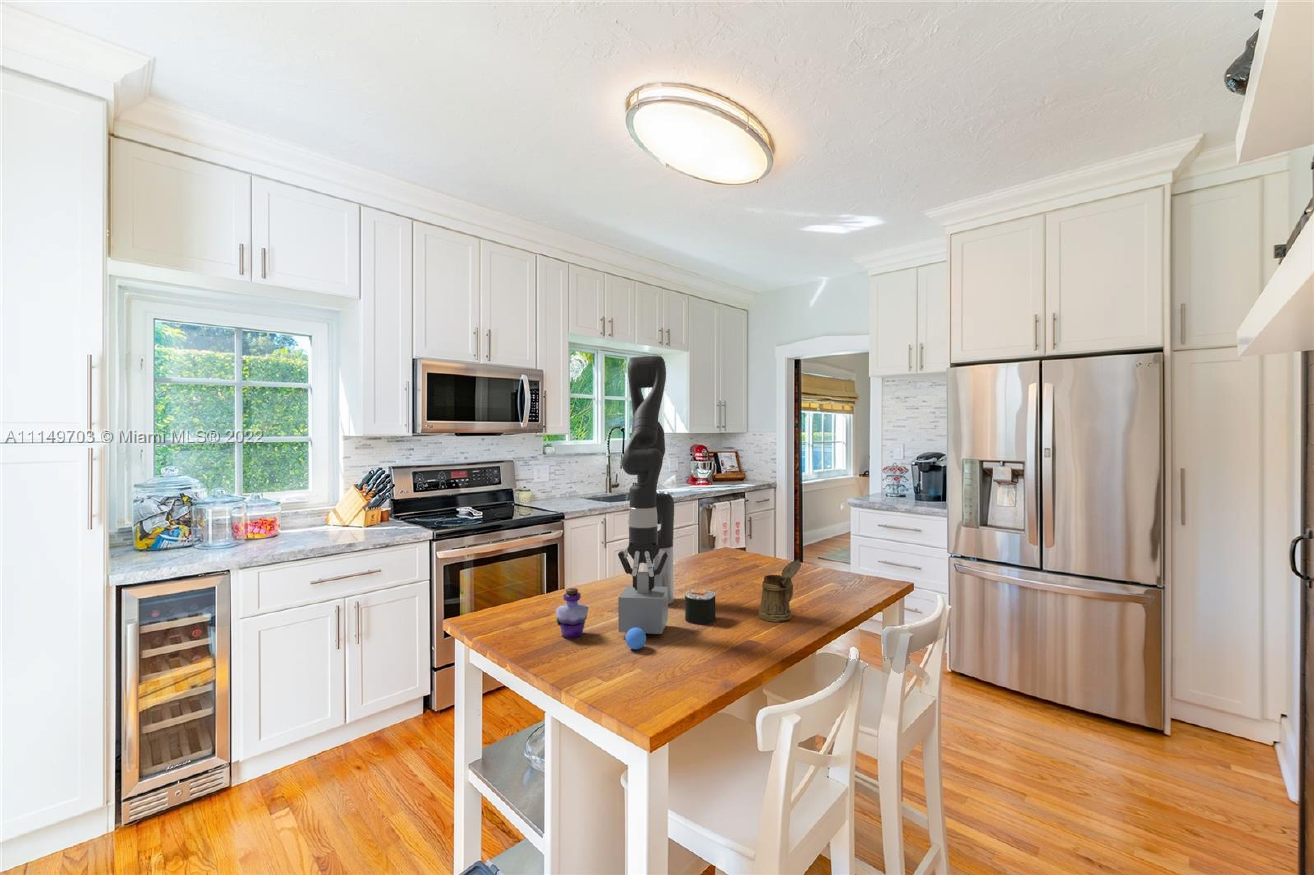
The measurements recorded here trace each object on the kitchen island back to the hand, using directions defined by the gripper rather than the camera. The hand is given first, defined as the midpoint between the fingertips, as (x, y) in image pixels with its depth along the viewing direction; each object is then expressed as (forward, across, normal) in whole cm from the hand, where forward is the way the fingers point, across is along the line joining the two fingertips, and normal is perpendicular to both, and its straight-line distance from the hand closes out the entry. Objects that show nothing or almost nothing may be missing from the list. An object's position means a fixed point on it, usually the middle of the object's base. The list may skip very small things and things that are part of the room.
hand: (643, 589), depth 148 cm
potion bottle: (+11, +18, +5) cm, 22 cm away
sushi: (+11, -14, -11) cm, 21 cm away
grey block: (+9, 0, 0) cm, 9 cm away
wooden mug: (+11, -36, -14) cm, 40 cm away
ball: (+9, 0, +12) cm, 15 cm away
